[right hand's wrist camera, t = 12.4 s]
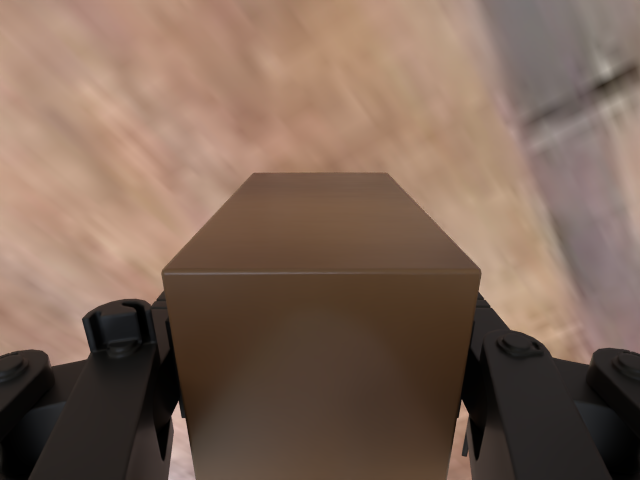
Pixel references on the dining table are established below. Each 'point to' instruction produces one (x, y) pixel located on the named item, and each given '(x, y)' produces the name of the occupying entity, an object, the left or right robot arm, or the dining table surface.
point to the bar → (321, 332)
